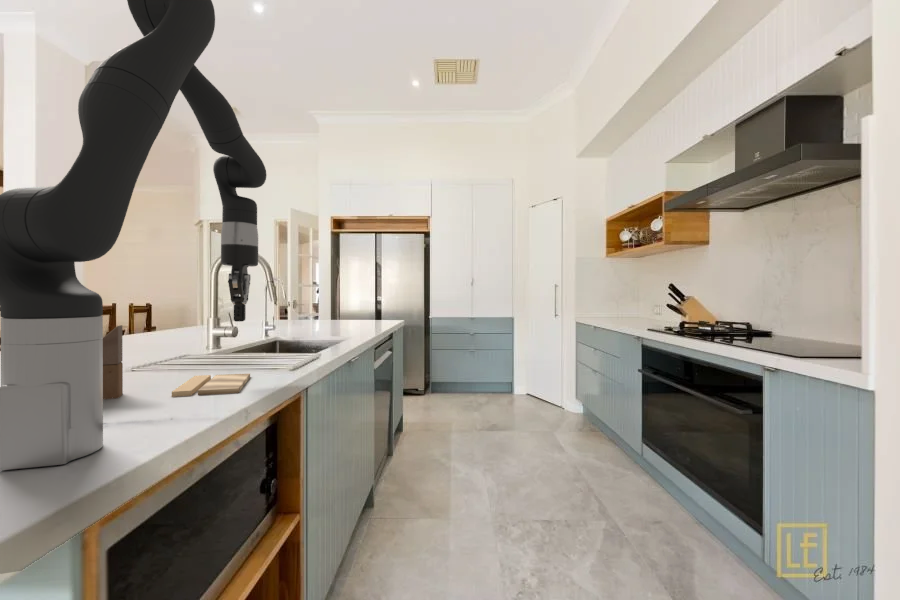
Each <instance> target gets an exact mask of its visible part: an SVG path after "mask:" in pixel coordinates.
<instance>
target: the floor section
mask: <svg viewBox="0 0 900 600" xmlns="http://www.w3.org/2000/svg"><path fill="white" fill-rule="evenodd" d="M211 375H212V374H206V375H205V374H204V375H203V374H202V375H193V376H192V377H191V378H189V379H188V380H187V381H185V382H184V383H182V384H181V385H179V386H178V387H176V388H175V389H174V390H172V391H171V398H174V397H188V396H189V397H190V396H193V395H195V393H196V392H198V390H199V389H200V388H201V387H202V386H204V385H205V384H206V383H207V382H208V381H209V380H211V379H212V376H211Z"/></svg>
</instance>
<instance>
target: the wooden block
mask: <svg viewBox="0 0 900 600" xmlns="http://www.w3.org/2000/svg"><path fill="white" fill-rule="evenodd" d="M123 368H124V367H123V324H119V325H117V326H115V327H114V328H113V329H112V330H111V331H109V332H108V333H107V334H106V335H104V336H103V400H112V399H119V398H121V397H122V396H123V392H124V391H123V389H124V388H123V387H124V386H123V385H124V384H123V378H124V377H123V373H124V371H123Z"/></svg>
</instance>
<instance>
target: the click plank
mask: <svg viewBox="0 0 900 600" xmlns="http://www.w3.org/2000/svg"><path fill="white" fill-rule="evenodd" d="M250 378H251V373H229V374H227V373H226V374H225V373H223V374H215V375H214V376H212V377H211V379H210V380H209V381H208V382H207V383H206V384H204V385H203V386H202V387H201V388H200V389H198V390H197V396H202V395H203V396H204V395H205V396H206V395H207V396H209V395H222V394H223V395H224V394H227V395H228V394H238V393H240V391H241V390H242V389H243V387H244V386H245V385H246V383H247V382H248V381H249V380H250Z"/></svg>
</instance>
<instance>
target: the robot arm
mask: <svg viewBox="0 0 900 600" xmlns="http://www.w3.org/2000/svg"><path fill="white" fill-rule="evenodd" d="M126 2H127V5H128V10H129V12H130V14H131V16H132V18H133V20H134V23H135V24H136V26H137V28H138V30H139V31H140V33H141V34H142V35H143V37H141V38H138V39H137V40H135V41H133V42H132V43H130V44H127V45H126V46H124V47H121V48H120V49H118V50H116V51H115V52H113V53H112V54H110V55H109V56H108V57H105V59H104V60H102V61H101V63H100V64H99V65H98V66H97V67H96V69H95V70H94V72H93V73H92V74H91V76H90V77H89V80H88V81H87V83H86V85H85V86H84V88H83V90H82V92H81V94H80V97H79V99H78V109H77V112H78V120H79V125H80V129H81V134H82V146H81V149H80V151H79V153H78V155H77V157H76V159H75V161H74V163H73V164H72V166H71V168H70V169H69V171H68V172H67V173H66V174H65V175H64V177H63V178H62V180H60V181H59V182H58V183H57V184H56V185H55V186H33V187H32V186H31V187H17V188H13V189H9V190H5V191H4V192H3V193H2V192H1V194H0V471H7V470H18V469H29V468H38V467H40V468H41V467H49V466H51V467H52V466H57V465H58V466H59V465H65V464H68V463H69V462H71V461H73V460H76V459H80V458H83V457H85V456H88V455H90V454H93V453H95V452H97V451H98V450H100V449H101V448H103V446H104V415H103V414H104V411H103V410H104V408H103V407H104V399H103V337H104V333H103V332H104V331H103V329H104V327H103V326H104V325H103V324H104V319H103V318H104V316H103V315H104V314H103V313H104V312H103V311H104V309H103V307H104V306H103V299H102V296H101V294H99V293H98V292H96V291H93V290H91V289H89V288H87V287H86V286H85V285H83V284H82V283H81V282H80V281H79V279H78V278H77V274H76V266H75V264H76V263H82V262H84V263H85V262H90V261H95V260H98V259H99V258H101V257H103V256H105V255H106V254H107V253H108V252H109V251H111V250H112V248H113V247H114V246H115V244H116V242H117V241H118V238H119V235H120V234H121V231H122V228H123V224H124V221H125V219H126V216H127V212H128V209H129V206H130V202H131V200H132V196H133V192H134V191H135V190H134V189H135V187H136V184H137V181H138V178H139V176H140V173H141V171H142V169H143V168H144V165H145V162H146V161H147V158H148V156H149V153H150V151H151V148H152V147H153V144H154V143H155V140H156V139H157V137H158V135H159V134H160V131H161V130H162V128H163V127H164V124H165V122H166V119H167V118H168V115H169V113H170V110H171V108H172V106H173V103H174V101H175V99H176V97H177V95H178V93H179V91H180V92H181V94H182V95H183V97H184V98H185V100H186V102H187V104H188V105H189V107H190V108H191V111H192V112H193V114H194V116H195V117H196V120H197V122H198V124H199V126H200V129H201V130H202V133H203V134H204V137H205V139H206V141H207V143H208V145H209V147H210V148H211V149H212V151H213V152H215V153H218V154H220V155H219V156H218V157H217V158H216V159H215V161H214V164H213V176H214V178H215V181H216V185H217V188H218V192H219V196H220V199H221V205H222V211H221V212H222V223H221V225H222V226H221V232H220V263H221V265H223V266H226V267H228V266H229V267H231V272H230V273H228V280H227V283H228V288H229V295H230V301H231V302H232V303H231V304H232V305H233V321H234V322H244V321H246V305H247V304H248V301H249V293H250V286H251V277H252V276H251V274H249V273H248V268H249V267H257V266H258V265H259V232H258V231H259V230H258V204H257V202H256V201H255V200H254V199H253V198H249V197H245V196H240V195H238V193H237V188H238V189H240V188H242V189H243V188H244V189H257V188H260V187H262V186H263V185H264V184H265V183H266V180H267V169H266V166H265V164H264V162H263V160H262V159H261V157H260V155H259V154H258V153H257V151H256V150H255V148H253V146H252V145H251V144H250V142H249V141H248V140H247V138H246V136H244V133H243V131H242V129H241V125H240V124H239V120H238V118H237V115H236V113H235V110H234V109H233V107H232V106H231V103H230V102H229V101H228V100H227V99H226V97H225V96H224V95H223V93H222V92H221V91H220V90H218V88H217V87H216V86H215V85H214V84H213V83H212V82H211V81H210V80H209V79H208V78H207V77H206V76H205V75H204V74H203V73H202V72H201V71H200V70H199V68H198V67H197V66H196V65H195V64H196V62H197V61H198V60H199V58H200V57H201V56H202V55H203V52H204V51H205V50H206V48H207V47H208V45H209V44H210V42H211V40H212V39H213V35H214V32H215V28H216V27H215V26H216V15H215V14H216V13H215V6H214V4H213V1H212V0H126Z"/></svg>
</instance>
